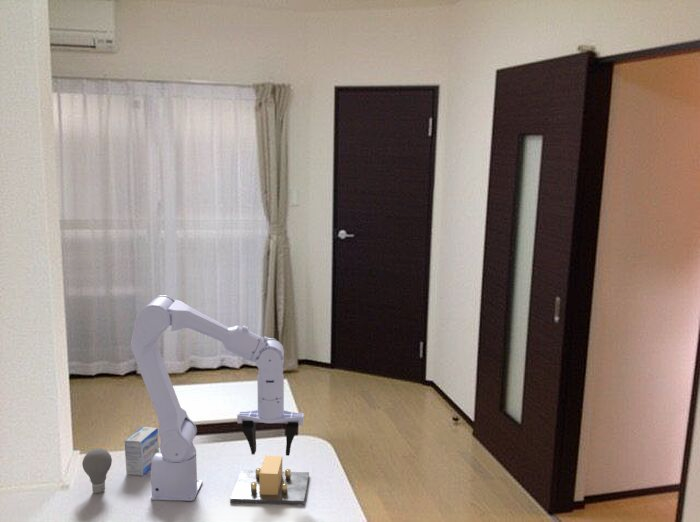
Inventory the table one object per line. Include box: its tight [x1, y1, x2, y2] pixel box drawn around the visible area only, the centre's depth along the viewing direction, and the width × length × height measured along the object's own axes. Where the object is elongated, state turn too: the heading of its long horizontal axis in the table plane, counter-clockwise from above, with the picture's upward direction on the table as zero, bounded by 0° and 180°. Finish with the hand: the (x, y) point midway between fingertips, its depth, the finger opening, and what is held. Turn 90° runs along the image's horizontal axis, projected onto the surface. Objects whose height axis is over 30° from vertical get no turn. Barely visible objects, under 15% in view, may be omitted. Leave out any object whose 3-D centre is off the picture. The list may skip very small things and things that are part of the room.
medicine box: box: [124, 426, 160, 477], centre depth 148 cm, size 8×4×9 cm, turn 168°
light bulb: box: [81, 447, 113, 494], centre depth 137 cm, size 6×6×10 cm
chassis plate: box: [229, 467, 310, 506], centre depth 140 cm, size 16×12×3 cm
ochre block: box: [259, 455, 283, 495], centre depth 140 cm, size 4×8×5 cm, turn 179°
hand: (270, 452), depth 139 cm, fingers open, 7 cm apart
